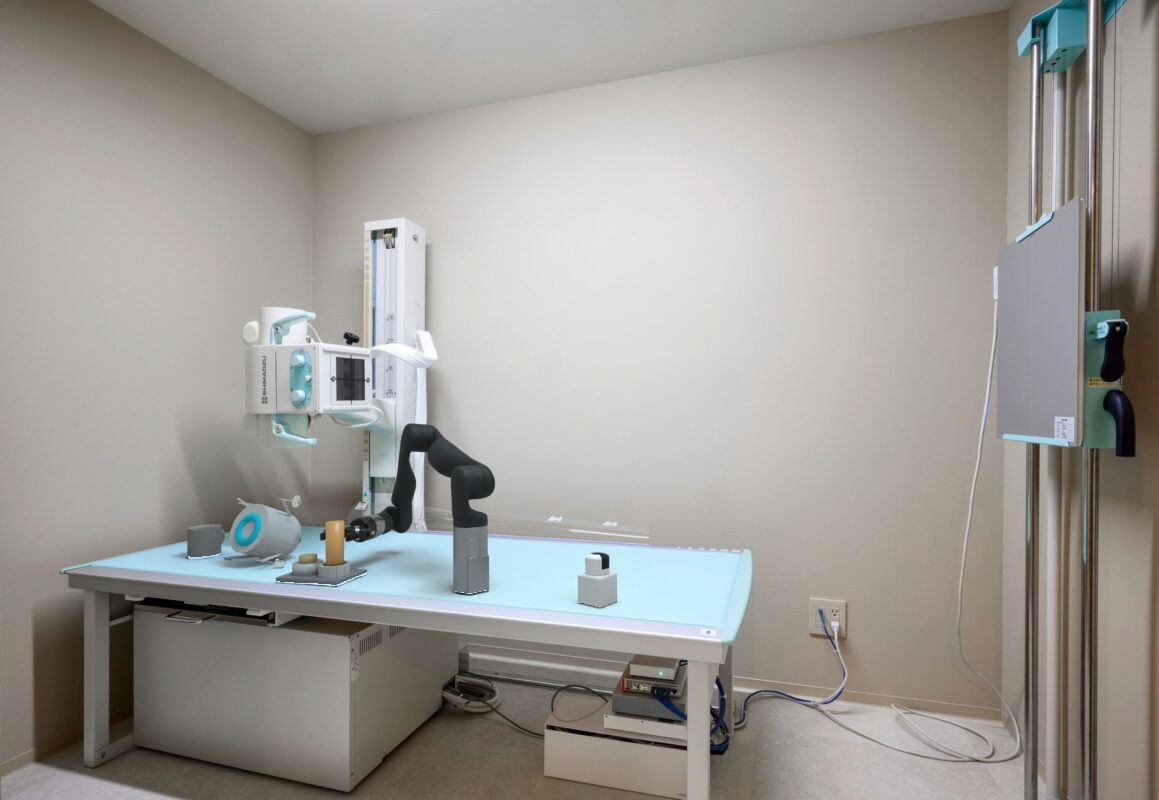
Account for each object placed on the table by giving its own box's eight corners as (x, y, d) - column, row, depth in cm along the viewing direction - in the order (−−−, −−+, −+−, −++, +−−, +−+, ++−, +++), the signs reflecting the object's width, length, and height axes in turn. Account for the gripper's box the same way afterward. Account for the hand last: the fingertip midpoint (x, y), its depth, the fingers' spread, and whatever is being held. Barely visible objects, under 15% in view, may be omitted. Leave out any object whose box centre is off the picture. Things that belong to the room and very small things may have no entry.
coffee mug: (200, 560, 198) (201, 530, 198) (180, 558, 202) (180, 528, 202) (236, 552, 211) (237, 523, 211) (216, 550, 214) (217, 522, 215)
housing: (367, 574, 177) (367, 552, 178) (336, 587, 164) (336, 563, 164) (310, 570, 182) (310, 549, 183) (275, 582, 169) (276, 559, 169)
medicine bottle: (595, 596, 153) (594, 549, 153) (617, 601, 148) (617, 553, 149) (577, 603, 147) (576, 554, 148) (600, 608, 143) (599, 558, 143)
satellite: (327, 505, 205) (273, 508, 214) (281, 488, 188) (225, 492, 198) (309, 573, 195) (254, 573, 204) (259, 562, 179) (202, 562, 188)
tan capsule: (346, 574, 172) (346, 521, 173) (328, 577, 169) (328, 523, 169) (340, 571, 176) (341, 519, 176) (323, 573, 173) (323, 521, 173)
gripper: (347, 515, 190) (312, 523, 174) (387, 516, 186) (355, 525, 170) (347, 538, 189) (312, 549, 174) (387, 540, 186) (355, 551, 170)
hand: (333, 537), depth 172 cm, fingers open, 8 cm apart
